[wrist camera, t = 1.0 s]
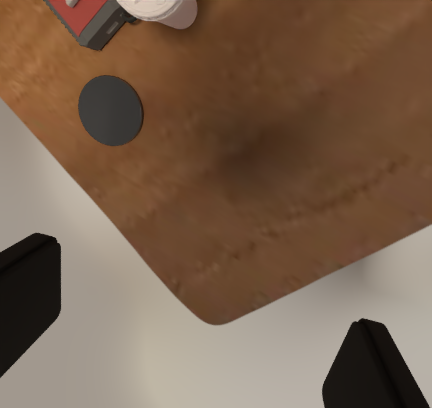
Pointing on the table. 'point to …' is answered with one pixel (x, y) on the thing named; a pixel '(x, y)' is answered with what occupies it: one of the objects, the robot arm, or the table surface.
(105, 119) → the coaster
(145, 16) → the smoothie
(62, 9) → the walkie-talkie
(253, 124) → the table surface
